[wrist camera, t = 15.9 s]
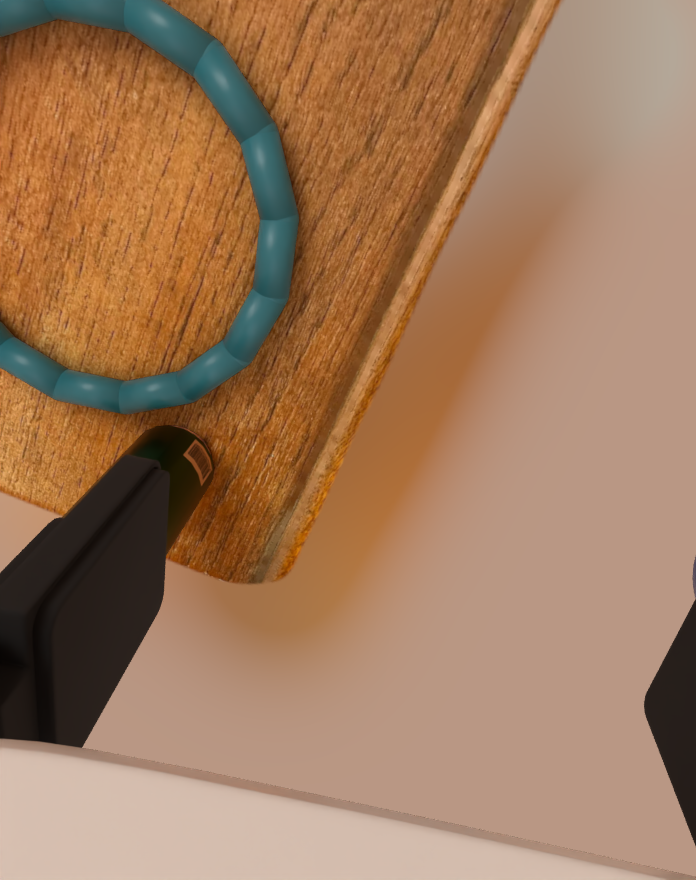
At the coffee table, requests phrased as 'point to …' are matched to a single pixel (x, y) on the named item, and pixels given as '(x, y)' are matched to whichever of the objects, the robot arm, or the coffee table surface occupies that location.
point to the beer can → (175, 470)
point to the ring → (205, 58)
